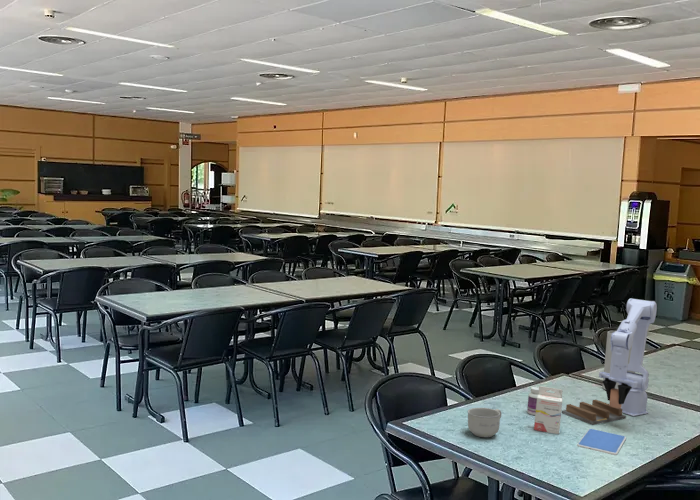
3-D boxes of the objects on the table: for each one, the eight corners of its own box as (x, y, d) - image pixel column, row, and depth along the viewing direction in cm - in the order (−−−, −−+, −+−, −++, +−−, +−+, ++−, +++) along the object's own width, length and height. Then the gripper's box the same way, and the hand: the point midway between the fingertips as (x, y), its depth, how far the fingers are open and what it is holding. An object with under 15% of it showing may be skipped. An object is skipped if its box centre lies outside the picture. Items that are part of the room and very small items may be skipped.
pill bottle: (542, 416, 248) (544, 391, 248) (527, 414, 250) (529, 389, 249) (541, 412, 254) (543, 387, 253) (526, 410, 255) (528, 385, 254)
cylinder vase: (599, 385, 297) (604, 329, 295) (628, 387, 295) (634, 332, 293) (606, 393, 285) (611, 335, 283) (636, 396, 283) (642, 337, 281)
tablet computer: (616, 457, 214) (616, 453, 213) (575, 447, 220) (576, 443, 220) (626, 440, 230) (626, 436, 230) (588, 431, 237) (588, 427, 236)
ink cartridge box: (533, 430, 233) (537, 389, 231) (534, 426, 237) (538, 385, 236) (559, 434, 230) (563, 392, 229) (559, 430, 235) (563, 389, 233)
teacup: (479, 442, 219) (481, 418, 218) (459, 430, 228) (461, 407, 227) (512, 437, 225) (514, 413, 224) (491, 426, 235) (493, 403, 234)
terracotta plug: (613, 404, 245) (615, 388, 244) (623, 407, 241) (625, 391, 241) (607, 405, 243) (608, 389, 242) (616, 408, 239) (618, 392, 239)
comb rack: (594, 407, 264) (595, 398, 264) (625, 418, 252) (626, 409, 252) (561, 413, 254) (562, 404, 254) (592, 425, 242) (593, 415, 242)
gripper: (594, 361, 245) (591, 397, 246) (630, 371, 232) (626, 409, 234) (607, 359, 248) (603, 395, 250) (642, 369, 236) (638, 406, 237)
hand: (615, 401), depth 242 cm, fingers closed on terracotta plug, 4 cm apart
